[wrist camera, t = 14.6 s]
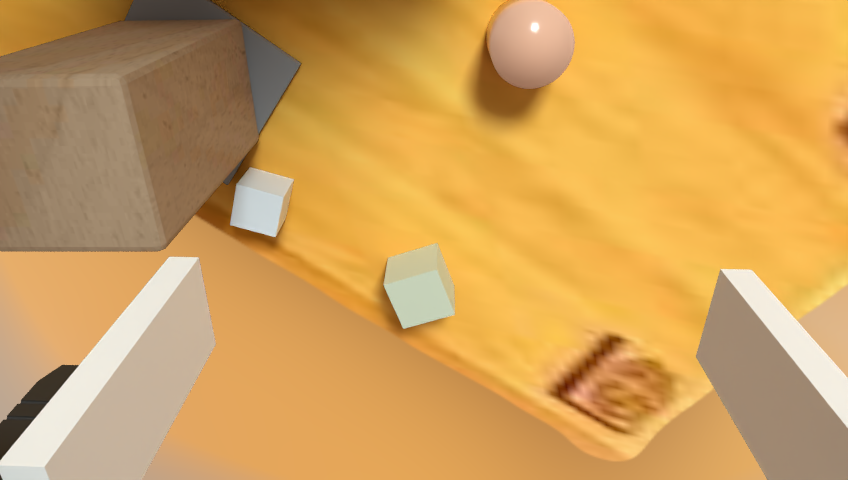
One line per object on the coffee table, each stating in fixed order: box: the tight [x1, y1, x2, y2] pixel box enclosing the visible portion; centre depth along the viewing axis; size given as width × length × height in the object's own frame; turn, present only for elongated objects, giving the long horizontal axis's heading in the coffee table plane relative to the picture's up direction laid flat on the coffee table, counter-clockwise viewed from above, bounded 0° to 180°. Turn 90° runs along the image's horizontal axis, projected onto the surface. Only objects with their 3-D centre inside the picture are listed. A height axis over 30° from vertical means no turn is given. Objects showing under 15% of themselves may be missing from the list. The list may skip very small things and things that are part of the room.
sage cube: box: [384, 243, 455, 329], centre depth 56 cm, size 5×5×5 cm
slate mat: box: [125, 0, 301, 185], centre depth 49 cm, size 13×13×1 cm
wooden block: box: [0, 19, 259, 251], centre depth 40 cm, size 10×10×20 cm
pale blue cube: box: [230, 167, 294, 237], centre depth 53 cm, size 4×4×4 cm
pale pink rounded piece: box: [486, 0, 575, 89], centre depth 45 cm, size 6×6×5 cm
